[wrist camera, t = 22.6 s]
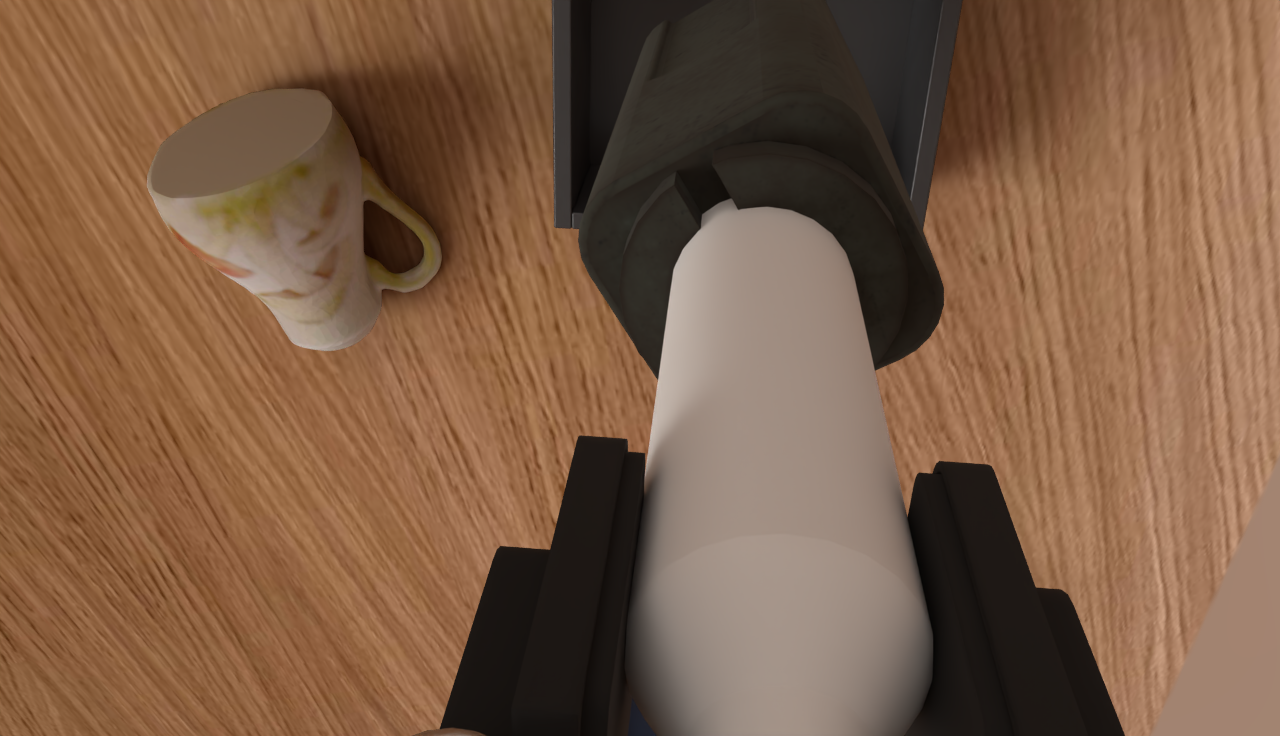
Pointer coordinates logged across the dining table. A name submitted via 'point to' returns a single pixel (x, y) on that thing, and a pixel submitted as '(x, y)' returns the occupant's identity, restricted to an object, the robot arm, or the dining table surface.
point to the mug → (286, 212)
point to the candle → (766, 378)
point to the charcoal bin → (636, 3)
